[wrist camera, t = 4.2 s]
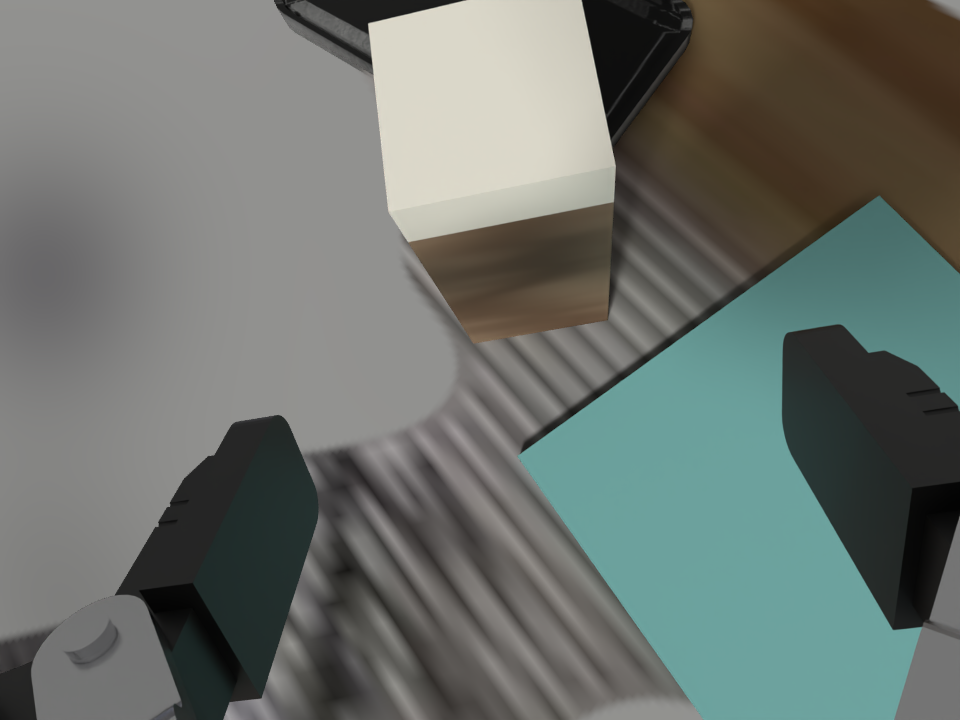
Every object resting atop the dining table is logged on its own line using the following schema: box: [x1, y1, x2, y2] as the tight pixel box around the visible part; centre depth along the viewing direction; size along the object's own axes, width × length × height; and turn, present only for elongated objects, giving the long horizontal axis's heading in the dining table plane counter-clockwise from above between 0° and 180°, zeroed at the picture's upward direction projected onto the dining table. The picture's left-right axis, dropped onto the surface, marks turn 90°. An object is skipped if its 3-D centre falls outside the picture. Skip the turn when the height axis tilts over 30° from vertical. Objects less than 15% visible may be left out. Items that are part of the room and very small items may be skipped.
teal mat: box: [518, 196, 960, 720], centre depth 19 cm, size 18×14×1 cm
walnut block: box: [368, 0, 616, 343], centre depth 19 cm, size 4×4×10 cm
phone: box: [274, 0, 693, 148], centre depth 26 cm, size 8×1×15 cm
